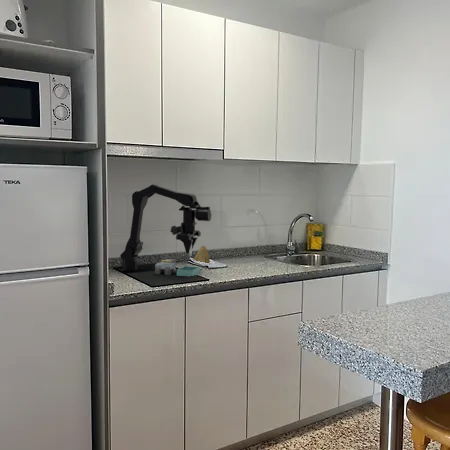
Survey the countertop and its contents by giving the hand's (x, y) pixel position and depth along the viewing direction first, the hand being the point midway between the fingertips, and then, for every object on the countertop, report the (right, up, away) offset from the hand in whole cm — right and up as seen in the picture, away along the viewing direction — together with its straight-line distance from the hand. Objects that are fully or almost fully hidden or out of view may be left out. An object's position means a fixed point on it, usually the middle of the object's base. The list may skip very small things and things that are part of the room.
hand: (188, 252), depth 216 cm
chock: (-11, -10, +12) cm, 19 cm away
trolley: (-11, -10, +2) cm, 15 cm away
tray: (0, -11, +1) cm, 11 cm away
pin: (0, -2, 0) cm, 2 cm away
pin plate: (+3, -10, +13) cm, 16 cm away
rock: (+5, -8, +31) cm, 32 cm away
